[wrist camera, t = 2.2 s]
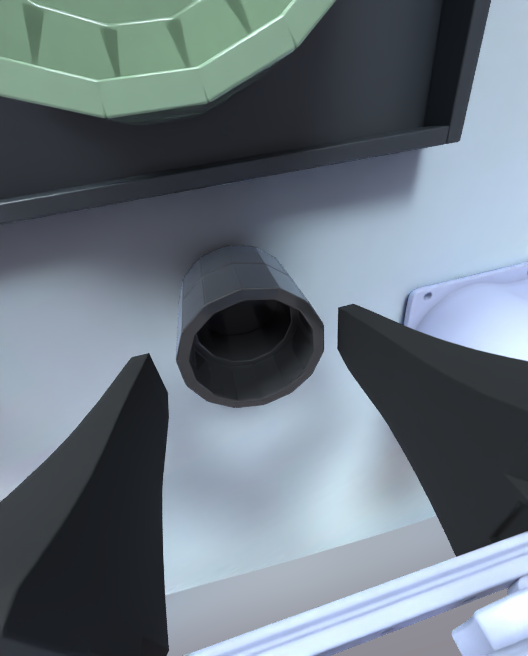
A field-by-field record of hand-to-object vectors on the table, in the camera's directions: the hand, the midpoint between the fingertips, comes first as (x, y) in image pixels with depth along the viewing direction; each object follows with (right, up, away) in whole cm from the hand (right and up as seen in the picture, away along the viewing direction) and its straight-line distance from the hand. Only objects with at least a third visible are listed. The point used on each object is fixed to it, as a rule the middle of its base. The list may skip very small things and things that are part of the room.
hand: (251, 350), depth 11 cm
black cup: (-1, +3, +4) cm, 5 cm away
